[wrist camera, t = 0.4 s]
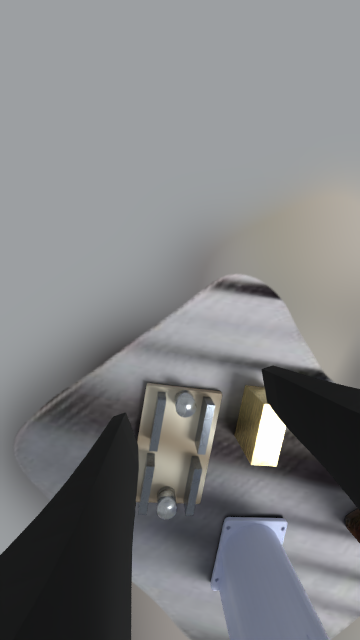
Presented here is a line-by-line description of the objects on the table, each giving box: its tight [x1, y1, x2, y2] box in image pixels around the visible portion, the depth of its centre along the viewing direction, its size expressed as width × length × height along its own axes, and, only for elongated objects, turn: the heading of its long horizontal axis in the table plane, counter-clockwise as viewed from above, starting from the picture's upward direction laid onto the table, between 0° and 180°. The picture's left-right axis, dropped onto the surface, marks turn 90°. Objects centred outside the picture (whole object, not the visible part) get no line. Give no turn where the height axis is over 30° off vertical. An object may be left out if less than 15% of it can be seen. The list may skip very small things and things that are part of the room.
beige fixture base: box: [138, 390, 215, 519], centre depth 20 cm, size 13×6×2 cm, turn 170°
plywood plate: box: [136, 383, 222, 504], centre depth 21 cm, size 13×8×1 cm, turn 170°
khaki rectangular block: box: [235, 385, 286, 466], centre depth 20 cm, size 6×3×4 cm, turn 170°
